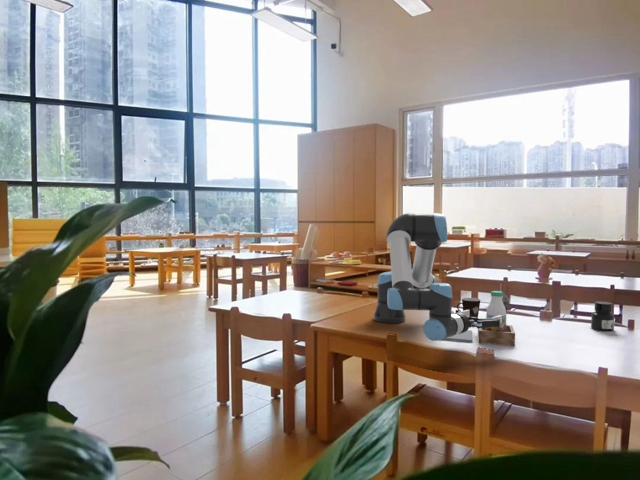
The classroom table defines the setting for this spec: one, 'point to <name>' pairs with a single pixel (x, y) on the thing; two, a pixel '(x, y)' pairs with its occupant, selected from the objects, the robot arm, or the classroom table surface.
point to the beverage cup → (505, 300)
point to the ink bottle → (602, 316)
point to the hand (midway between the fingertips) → (484, 315)
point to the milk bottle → (496, 310)
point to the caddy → (497, 336)
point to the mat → (462, 337)
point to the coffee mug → (471, 306)
